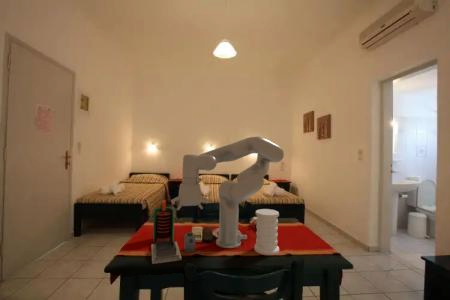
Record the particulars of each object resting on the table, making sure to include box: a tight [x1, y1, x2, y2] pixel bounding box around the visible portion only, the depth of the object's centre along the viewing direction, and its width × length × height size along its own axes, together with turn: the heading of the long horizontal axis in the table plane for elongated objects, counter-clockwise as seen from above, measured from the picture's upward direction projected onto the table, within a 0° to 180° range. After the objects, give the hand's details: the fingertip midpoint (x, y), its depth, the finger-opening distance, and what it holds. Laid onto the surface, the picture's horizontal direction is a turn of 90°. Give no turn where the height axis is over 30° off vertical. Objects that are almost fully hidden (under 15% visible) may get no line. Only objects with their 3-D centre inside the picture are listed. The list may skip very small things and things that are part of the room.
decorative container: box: [253, 208, 280, 256], centre depth 111 cm, size 12×12×18 cm
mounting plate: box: [150, 240, 183, 265], centre depth 106 cm, size 12×18×4 cm, turn 18°
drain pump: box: [183, 231, 196, 253], centre depth 109 cm, size 5×6×8 cm
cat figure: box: [249, 216, 258, 229], centre depth 139 cm, size 10×9×25 cm
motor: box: [152, 199, 175, 243], centre depth 121 cm, size 10×9×20 cm
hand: (189, 217), depth 109 cm, fingers open, 9 cm apart
